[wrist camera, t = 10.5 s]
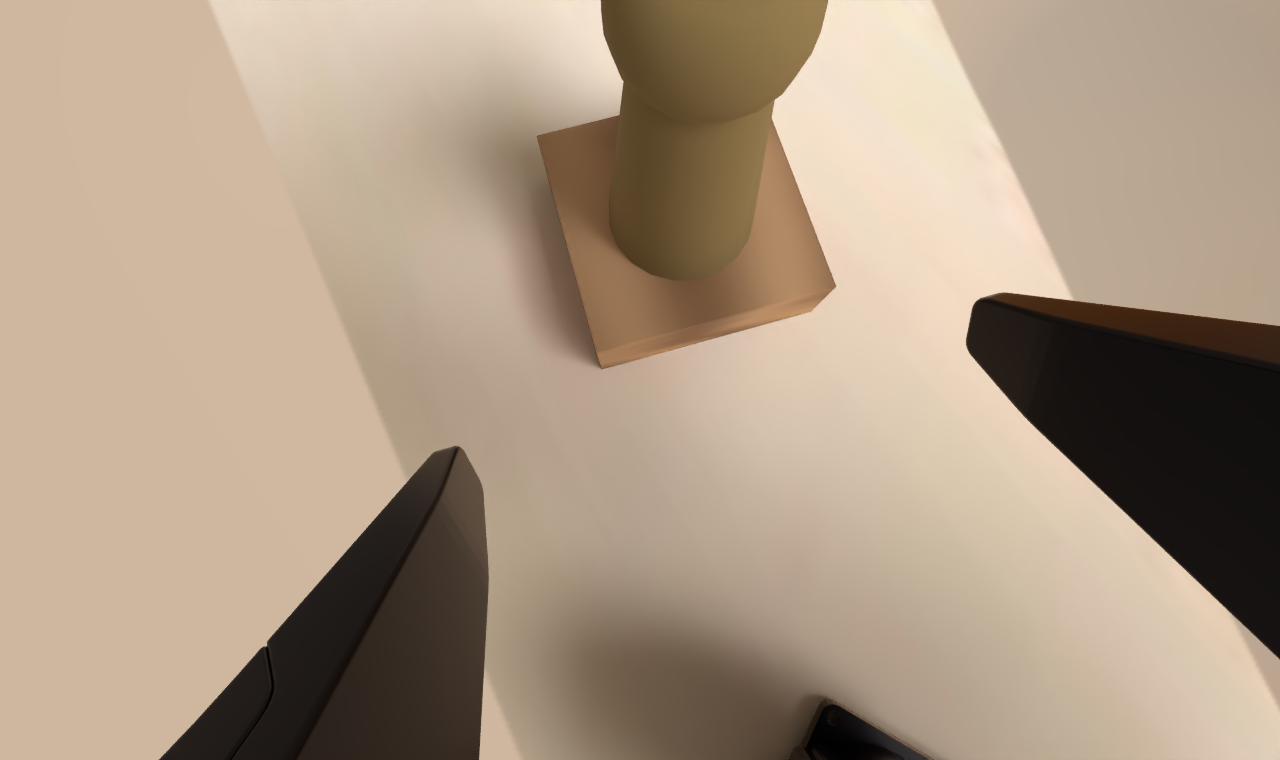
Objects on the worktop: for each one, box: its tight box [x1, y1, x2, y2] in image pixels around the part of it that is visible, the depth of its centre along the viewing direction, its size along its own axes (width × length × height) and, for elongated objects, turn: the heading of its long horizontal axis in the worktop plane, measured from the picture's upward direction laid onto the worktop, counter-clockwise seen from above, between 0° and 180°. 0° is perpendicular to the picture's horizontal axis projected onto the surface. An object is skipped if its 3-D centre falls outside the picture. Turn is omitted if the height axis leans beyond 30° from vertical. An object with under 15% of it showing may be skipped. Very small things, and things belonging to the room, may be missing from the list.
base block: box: [537, 115, 836, 369], centre depth 22 cm, size 10×10×3 cm
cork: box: [601, 0, 828, 281], centre depth 15 cm, size 6×6×11 cm
